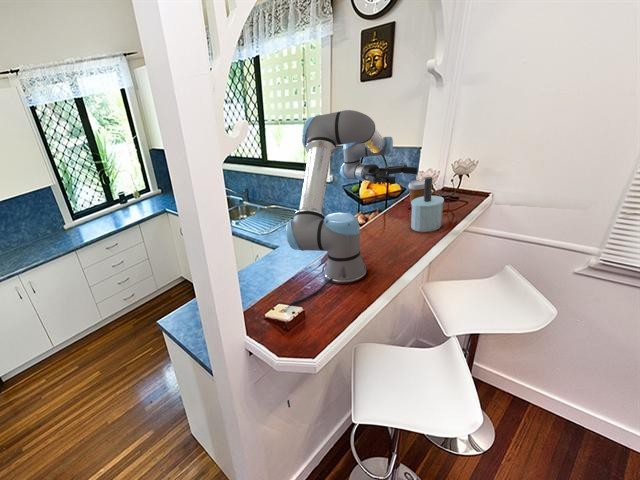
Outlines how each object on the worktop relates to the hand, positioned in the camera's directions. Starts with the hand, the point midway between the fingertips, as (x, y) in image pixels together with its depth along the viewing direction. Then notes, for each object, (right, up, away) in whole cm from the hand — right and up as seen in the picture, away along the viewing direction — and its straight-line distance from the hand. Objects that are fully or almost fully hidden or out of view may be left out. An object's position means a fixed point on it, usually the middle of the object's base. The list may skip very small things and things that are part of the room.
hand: (405, 175), depth 148 cm
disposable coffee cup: (+18, -7, +25) cm, 32 cm away
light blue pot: (+10, -22, +3) cm, 24 cm away
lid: (+8, -12, -3) cm, 15 cm away
